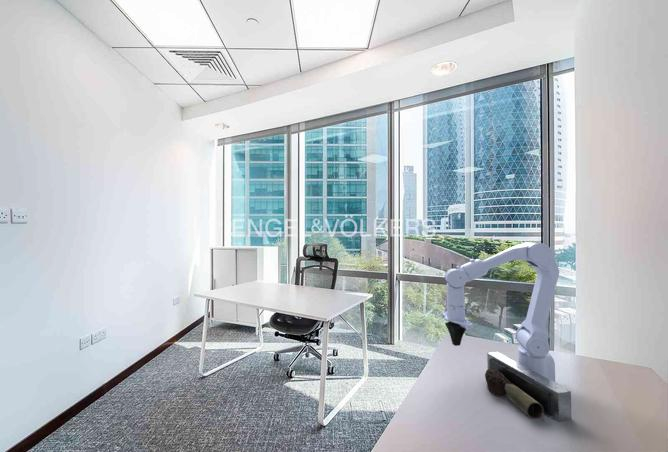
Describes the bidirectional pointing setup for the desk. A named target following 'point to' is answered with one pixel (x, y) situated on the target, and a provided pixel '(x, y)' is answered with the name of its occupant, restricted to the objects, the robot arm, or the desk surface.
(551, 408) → the grey metal tray
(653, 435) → the desk surface
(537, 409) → the corroded crusty cylinder
